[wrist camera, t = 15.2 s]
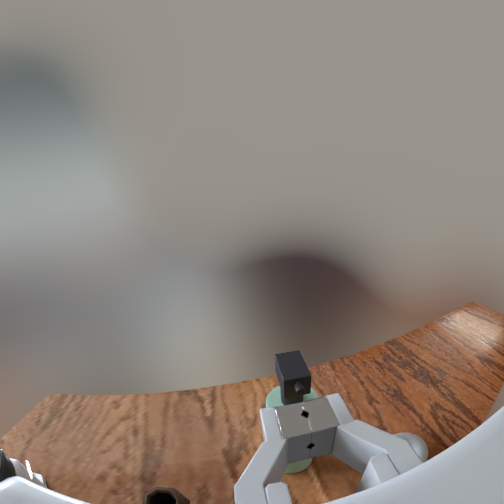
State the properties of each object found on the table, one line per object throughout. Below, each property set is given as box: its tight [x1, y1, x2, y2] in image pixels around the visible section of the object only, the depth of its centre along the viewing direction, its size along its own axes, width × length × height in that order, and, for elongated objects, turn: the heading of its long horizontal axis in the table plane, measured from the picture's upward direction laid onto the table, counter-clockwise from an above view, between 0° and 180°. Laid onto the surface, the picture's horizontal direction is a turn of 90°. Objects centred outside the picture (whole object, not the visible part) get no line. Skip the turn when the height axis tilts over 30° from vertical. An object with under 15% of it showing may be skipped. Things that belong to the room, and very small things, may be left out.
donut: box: [394, 433, 428, 463], centre depth 29 cm, size 10×3×10 cm
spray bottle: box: [266, 350, 318, 473], centre depth 33 cm, size 7×8×22 cm
